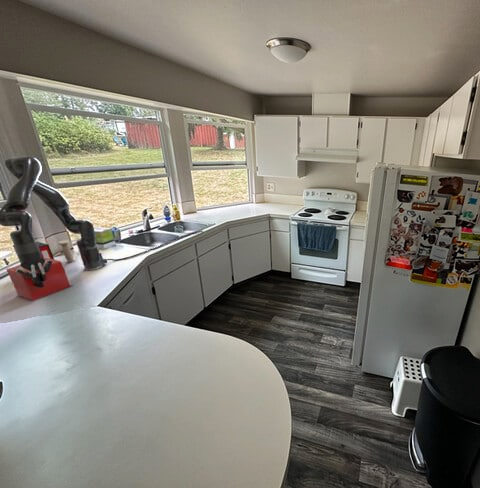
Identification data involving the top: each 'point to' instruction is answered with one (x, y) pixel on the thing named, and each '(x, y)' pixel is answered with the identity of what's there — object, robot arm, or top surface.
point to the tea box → (104, 237)
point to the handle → (66, 250)
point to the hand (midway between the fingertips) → (40, 281)
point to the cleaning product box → (44, 250)
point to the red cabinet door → (47, 282)
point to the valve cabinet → (19, 281)
